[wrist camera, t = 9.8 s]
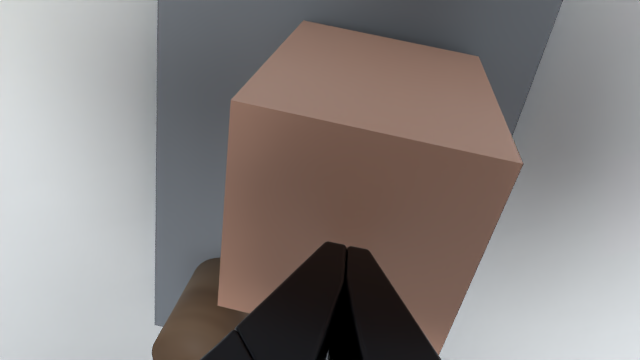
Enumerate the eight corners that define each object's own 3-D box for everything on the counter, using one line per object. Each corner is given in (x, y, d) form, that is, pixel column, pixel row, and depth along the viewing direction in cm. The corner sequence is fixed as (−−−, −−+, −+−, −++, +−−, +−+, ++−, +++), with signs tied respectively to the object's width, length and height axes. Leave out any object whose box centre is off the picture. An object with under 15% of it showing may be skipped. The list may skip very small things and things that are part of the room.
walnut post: (255, 317, 20) (229, 396, 17) (191, 304, 21) (151, 380, 17) (262, 265, 19) (235, 338, 16) (194, 251, 19) (151, 321, 16)
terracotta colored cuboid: (428, 203, 17) (436, 359, 11) (282, 170, 17) (217, 305, 11) (478, 56, 14) (523, 164, 8) (303, 20, 14) (231, 100, 9)
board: (419, 365, 22) (420, 380, 21) (161, 312, 22) (154, 324, 21) (555, -7, 14) (564, -5, 14) (169, -78, 15) (158, -80, 14)
